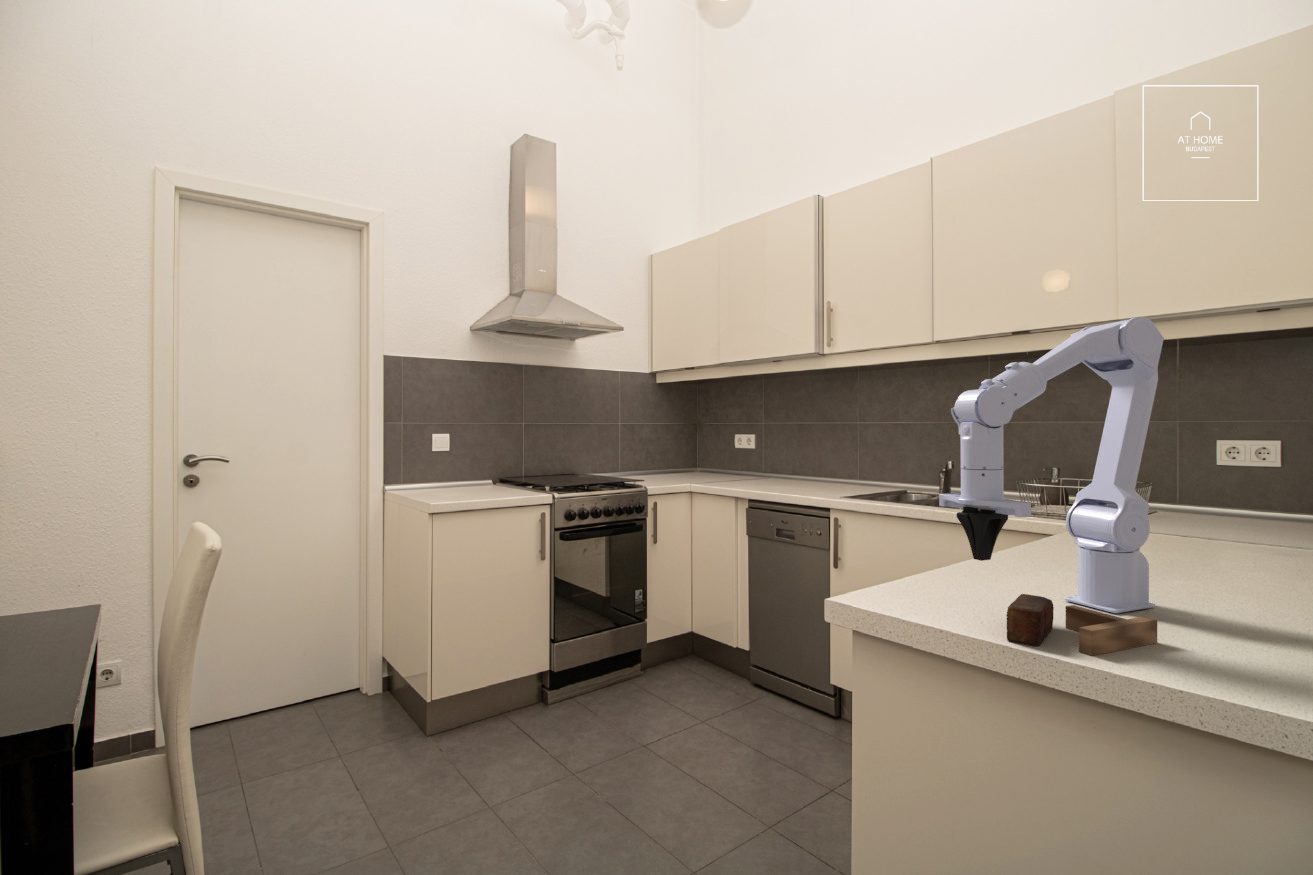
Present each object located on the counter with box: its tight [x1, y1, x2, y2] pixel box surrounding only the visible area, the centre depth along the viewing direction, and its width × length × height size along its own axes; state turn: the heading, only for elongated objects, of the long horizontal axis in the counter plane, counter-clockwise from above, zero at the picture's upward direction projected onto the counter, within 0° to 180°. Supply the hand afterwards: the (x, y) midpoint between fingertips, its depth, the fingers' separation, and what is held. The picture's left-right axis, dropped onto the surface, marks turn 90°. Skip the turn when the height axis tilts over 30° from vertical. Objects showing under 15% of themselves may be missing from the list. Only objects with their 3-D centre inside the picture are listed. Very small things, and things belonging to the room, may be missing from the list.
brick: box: [1006, 593, 1055, 647], centre depth 84 cm, size 11×4×5 cm, turn 140°
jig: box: [1065, 604, 1158, 657], centre depth 82 cm, size 12×8×3 cm
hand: (982, 559), depth 94 cm, fingers closed
